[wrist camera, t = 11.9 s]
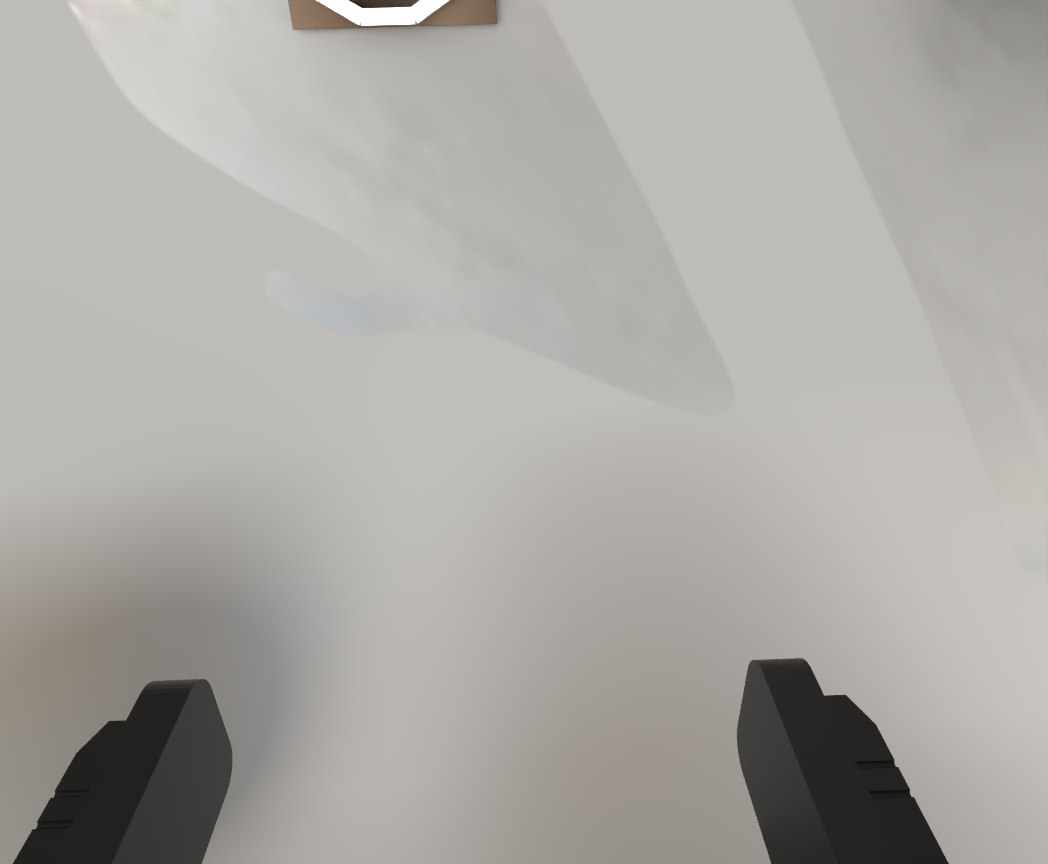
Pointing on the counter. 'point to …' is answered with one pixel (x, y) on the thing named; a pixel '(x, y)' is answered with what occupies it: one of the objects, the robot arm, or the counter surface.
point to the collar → (385, 12)
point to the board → (466, 7)
